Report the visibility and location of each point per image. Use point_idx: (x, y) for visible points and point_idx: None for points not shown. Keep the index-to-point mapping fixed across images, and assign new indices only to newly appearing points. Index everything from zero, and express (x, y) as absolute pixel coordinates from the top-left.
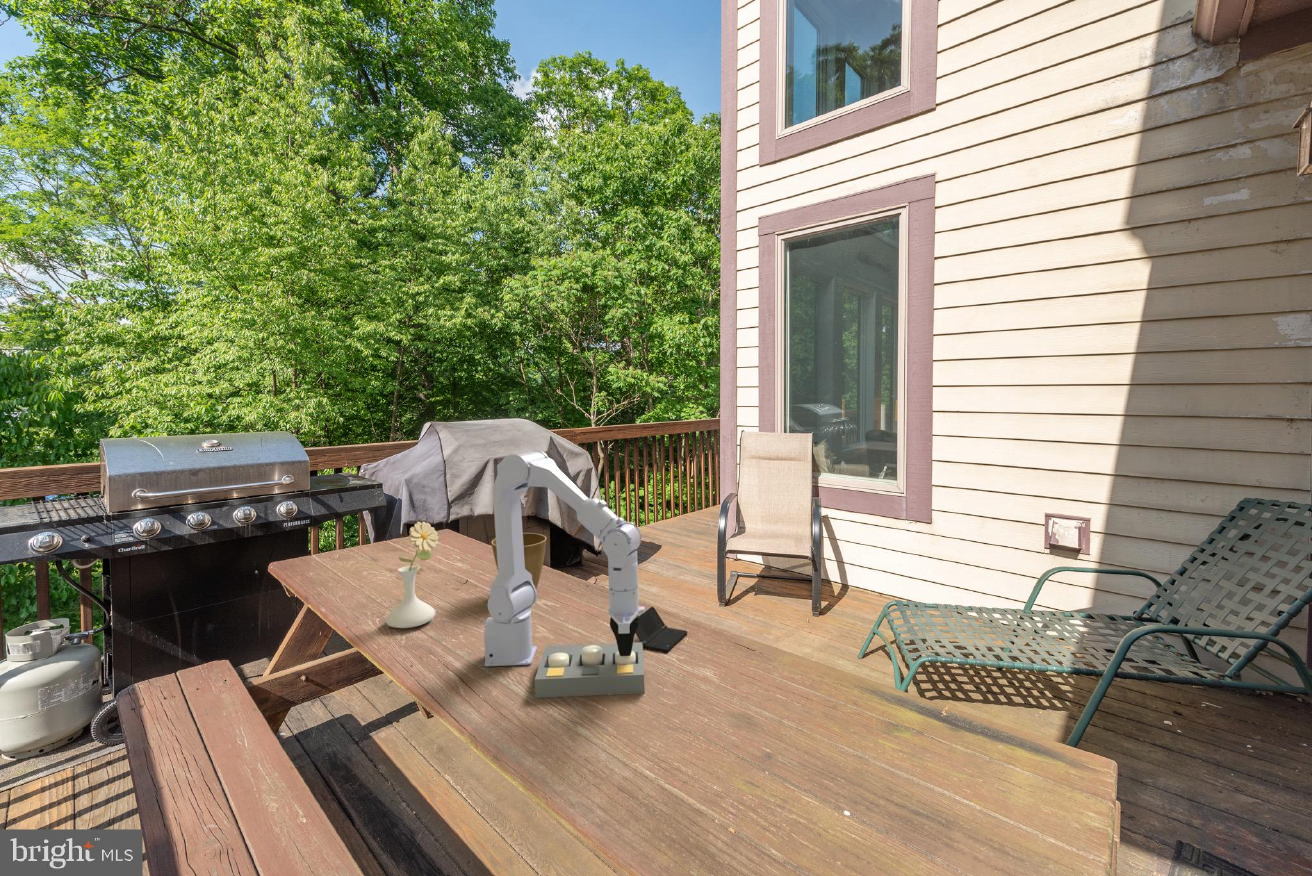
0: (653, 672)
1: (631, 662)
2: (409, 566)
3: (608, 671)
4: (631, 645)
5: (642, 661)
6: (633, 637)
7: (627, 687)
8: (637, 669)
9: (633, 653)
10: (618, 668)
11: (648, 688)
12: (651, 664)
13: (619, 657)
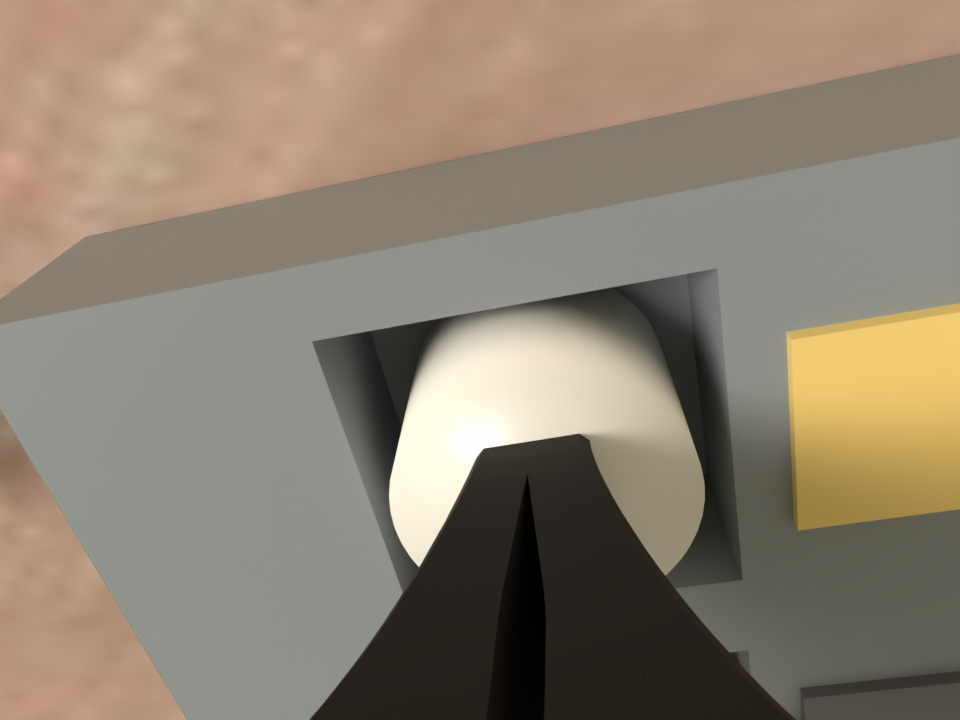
0: (410, 27)
1: (651, 370)
2: None
3: (937, 588)
4: (632, 539)
5: (639, 215)
6: (727, 657)
7: None
8: (930, 245)
9: (500, 404)
10: (901, 503)
11: (855, 18)
12: (196, 97)
13: (653, 558)
